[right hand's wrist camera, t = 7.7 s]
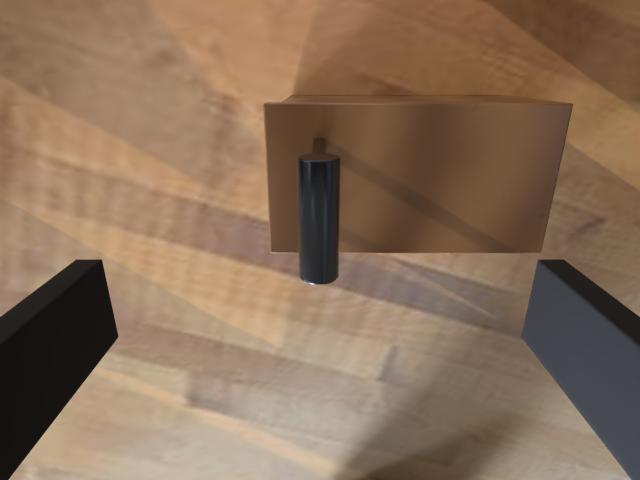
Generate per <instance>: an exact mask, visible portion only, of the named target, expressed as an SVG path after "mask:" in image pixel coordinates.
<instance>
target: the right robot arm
mask: <svg viewBox="0 0 640 480" xmlns="http://www.w3.org/2000/svg"><path fill="white" fill-rule="evenodd" d="M117 338H118V333H117V328H116V324H115V319H114V314H113V310H112V305H111V300H110V296H109V291H108V286H107V282H106V277H105V272H104V268H103V263H102V260H75V261H74V262H73V263H71V264H70V265H69V266H67V267H66V268H65V269H63V270H62V271H61V272H59V273H58V274H57V275H55V276H54V277H53V278H51V279H50V280H49V281H48V282H46V283H45V284H44V285H42V286H41V287H40V288H38V289H37V290H36V291H34V292H33V293H32V294H30V295H29V296H28V297H26V298H25V299H24V300H22V301H21V302H20V303H18V304H17V305H16V306H14V307H13V308H12V309H10V310H9V311H8V312H7V313H5V314H4V315H3V316H1V317H0V480H8V479H9V478H10V477H11V475H12V474H13V473H14V472H15V470H16V469H17V468H18V466H19V465H20V464H21V462H22V461H23V460H24V459H25V457H26V456H27V455H28V453H29V452H30V451H31V450H32V448H33V447H34V446H35V444H36V443H37V442H38V440H39V439H40V438H41V437H42V435H43V434H44V433H45V431H46V430H47V429H48V427H49V426H50V425H51V424H52V422H53V421H54V420H55V418H56V417H57V416H58V415H59V413H60V412H61V411H62V409H63V408H64V407H65V405H66V404H67V403H68V402H69V400H70V399H71V398H72V396H73V395H74V394H75V392H76V391H77V390H78V389H79V387H80V386H81V385H82V383H83V382H84V381H85V380H86V378H87V377H88V376H89V374H90V373H91V372H92V370H93V369H94V368H95V367H96V365H97V364H98V363H99V361H100V360H101V359H102V357H103V356H104V355H105V354H106V352H107V351H108V350H109V348H110V347H111V346H112V345H113V343H114V342H115V341H116V339H117ZM522 338H523V339H524V341H525V342H526V343H527V345H528V346H529V347H530V348H531V350H532V351H533V352H534V354H535V355H536V356H537V357H538V359H539V360H540V361H541V363H542V364H543V365H544V367H545V368H546V369H547V370H548V372H549V373H550V374H551V376H552V377H553V378H554V380H555V381H556V382H557V383H558V385H559V386H560V387H561V389H562V390H563V391H564V392H565V394H566V395H567V396H568V398H569V399H570V400H571V402H572V403H573V404H574V405H575V407H576V408H577V409H578V411H579V412H580V413H581V415H582V416H583V417H584V418H585V420H586V421H587V422H588V424H589V425H590V426H591V427H592V429H593V430H594V431H595V433H596V434H597V435H598V437H599V438H600V439H601V440H602V442H603V443H604V444H605V446H606V447H607V448H608V450H609V451H610V452H611V453H612V455H613V456H614V457H615V459H616V460H617V461H618V462H619V464H620V465H621V466H622V468H623V469H624V470H625V472H626V473H627V474H628V475H629V477H630V478H631V479H632V480H640V317H639V316H637V315H636V314H635V313H633V312H632V311H631V310H630V309H628V308H627V307H626V306H624V305H623V304H622V303H620V302H619V301H618V300H616V299H615V298H614V297H612V296H611V295H610V294H608V293H607V292H606V291H604V290H603V289H602V288H600V287H599V286H598V285H596V284H595V283H594V282H592V281H591V280H590V279H589V278H587V277H586V276H585V275H583V274H582V273H581V272H579V271H578V270H577V269H575V268H574V267H573V266H571V265H570V264H569V263H567V262H566V261H565V260H538V263H537V268H536V272H535V277H534V282H533V286H532V291H531V296H530V300H529V305H528V310H527V314H526V319H525V324H524V328H523V333H522Z"/></svg>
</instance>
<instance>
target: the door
mask: <svg viewBox="0 0 640 480" xmlns="http://www.w3.org/2000/svg"><path fill="white" fill-rule="evenodd" d="M572 106H573V104H571V103H441V102H267V103H265V104H264V105H263V107H264V128H265V149H266V170H267V190H268V211H269V232H270V252H271V253H299V276H300V278H301V279H302V280H303V281H305V282H307V283H310V284H327V283H331V282H333V281H335V280H336V279H337V278H338V264H339V253H541V250H542V246H543V241H544V236H545V232H546V227H547V222H548V218H549V213H550V208H551V204H552V199H553V194H554V190H555V185H556V181H557V176H558V171H559V167H560V162H561V157H562V153H563V148H564V143H565V139H566V134H567V129H568V125H569V120H570V116H571V111H572Z"/></svg>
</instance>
